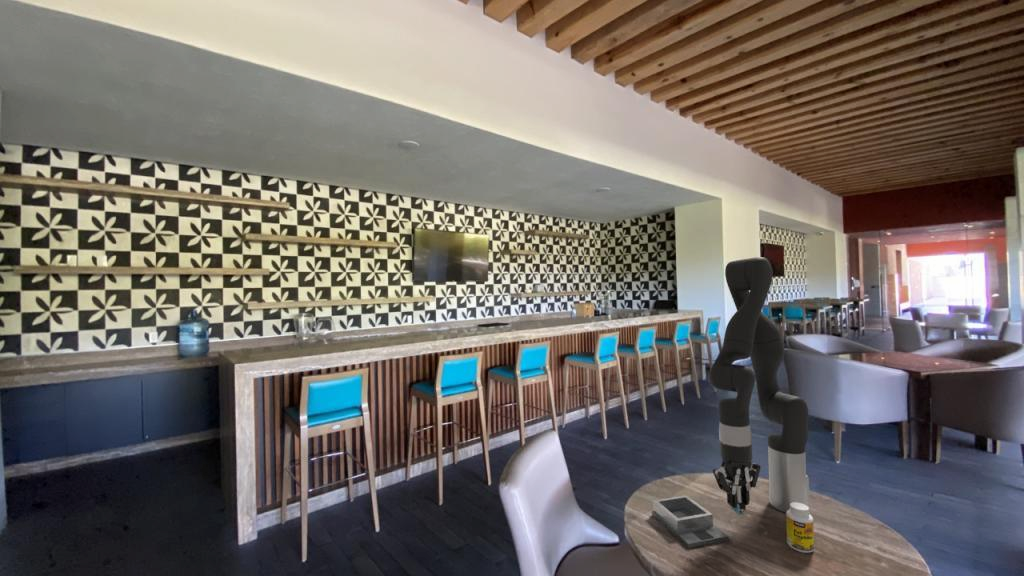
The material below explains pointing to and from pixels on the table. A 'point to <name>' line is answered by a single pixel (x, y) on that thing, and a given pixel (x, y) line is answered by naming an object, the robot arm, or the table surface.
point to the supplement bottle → (800, 528)
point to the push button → (739, 497)
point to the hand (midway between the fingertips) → (738, 504)
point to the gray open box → (687, 521)
